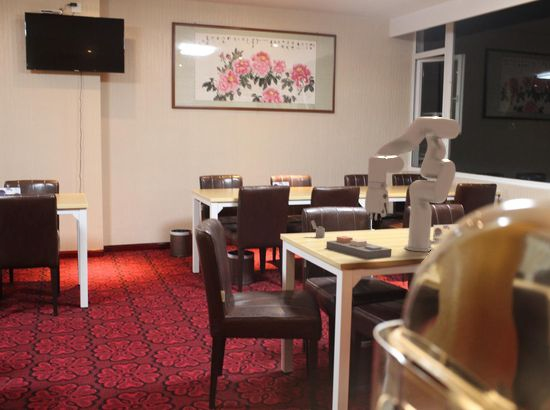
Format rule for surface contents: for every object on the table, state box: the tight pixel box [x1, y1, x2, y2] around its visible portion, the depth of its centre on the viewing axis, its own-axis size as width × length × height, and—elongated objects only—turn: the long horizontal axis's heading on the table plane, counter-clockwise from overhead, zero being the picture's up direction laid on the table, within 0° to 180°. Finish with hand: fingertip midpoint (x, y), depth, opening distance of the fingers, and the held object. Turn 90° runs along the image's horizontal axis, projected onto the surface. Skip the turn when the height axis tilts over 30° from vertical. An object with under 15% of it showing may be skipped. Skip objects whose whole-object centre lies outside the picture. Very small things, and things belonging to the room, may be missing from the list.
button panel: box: [326, 240, 392, 260], centre depth 258 cm, size 14×26×3 cm, turn 35°
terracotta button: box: [336, 235, 354, 243], centre depth 265 cm, size 5×5×3 cm
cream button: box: [350, 238, 368, 247], centre depth 258 cm, size 5×5×3 cm
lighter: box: [310, 219, 326, 238], centre depth 294 cm, size 7×2×8 cm, turn 65°
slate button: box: [365, 244, 383, 250], centre depth 251 cm, size 5×5×3 cm
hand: (375, 228), depth 250 cm, fingers closed
